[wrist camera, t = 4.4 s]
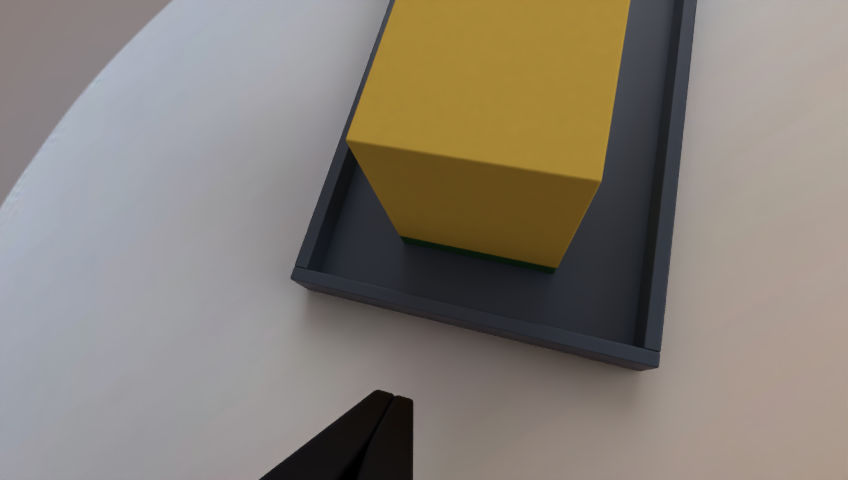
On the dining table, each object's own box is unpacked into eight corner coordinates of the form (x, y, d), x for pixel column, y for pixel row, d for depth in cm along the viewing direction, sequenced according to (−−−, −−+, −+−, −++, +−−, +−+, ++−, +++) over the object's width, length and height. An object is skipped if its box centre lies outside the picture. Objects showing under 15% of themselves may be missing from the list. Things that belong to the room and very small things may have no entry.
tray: (641, 371, 18) (659, 368, 16) (307, 289, 22) (289, 278, 20) (692, -72, 26) (708, -111, 24) (436, -84, 29) (432, -119, 27)
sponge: (554, 274, 20) (601, 181, 11) (402, 243, 21) (344, 140, 13) (582, 120, 22) (639, -53, 13) (444, 101, 23) (417, -65, 15)
